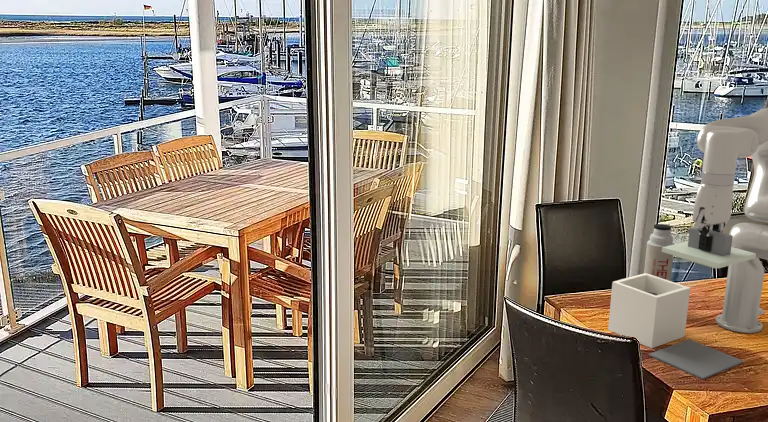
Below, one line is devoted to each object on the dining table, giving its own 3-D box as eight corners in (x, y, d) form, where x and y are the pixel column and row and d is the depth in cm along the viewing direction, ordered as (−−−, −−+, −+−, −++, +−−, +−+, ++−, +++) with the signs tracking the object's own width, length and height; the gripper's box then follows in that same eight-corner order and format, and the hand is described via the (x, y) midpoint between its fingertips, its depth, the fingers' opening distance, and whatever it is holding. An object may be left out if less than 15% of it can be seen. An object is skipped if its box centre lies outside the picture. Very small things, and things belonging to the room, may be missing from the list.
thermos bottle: (667, 316, 213) (676, 230, 206) (639, 313, 216) (648, 227, 209) (667, 307, 220) (676, 223, 214) (640, 304, 223) (649, 221, 217)
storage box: (640, 319, 211) (645, 273, 208) (684, 336, 199) (690, 287, 195) (608, 329, 203) (612, 281, 200) (651, 348, 191) (656, 297, 188)
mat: (689, 340, 196) (689, 339, 196) (743, 362, 183) (743, 360, 183) (648, 355, 187) (648, 353, 187) (702, 379, 174) (702, 377, 174)
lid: (698, 246, 189) (701, 220, 187) (755, 261, 176) (758, 234, 174) (661, 255, 181) (664, 228, 179) (718, 272, 167) (721, 244, 166)
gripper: (722, 173, 180) (714, 241, 185) (684, 180, 172) (676, 250, 176) (750, 178, 174) (740, 248, 179) (712, 185, 166) (703, 258, 170)
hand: (708, 248), depth 178 cm, fingers closed on lid, 3 cm apart
